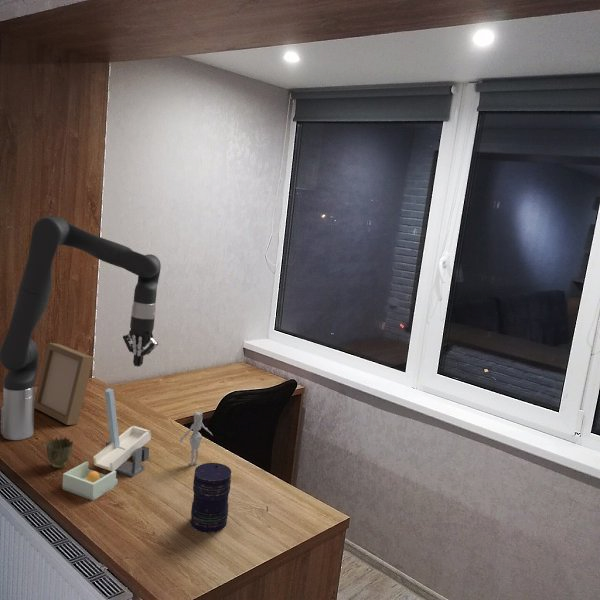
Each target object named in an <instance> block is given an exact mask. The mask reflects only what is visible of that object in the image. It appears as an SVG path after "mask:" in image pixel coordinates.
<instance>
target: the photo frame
mask: <svg viewBox="0 0 600 600" xmlns="http://www.w3.org/2000/svg"><path fill="white" fill-rule="evenodd" d="M93 361H94V357H93V356H91V355H88V354H87V353H84V352H81V351H78V350H75V349H73V348H71V347H68V346H66V345H62V344H60V343H55V342H54V343H53V342H48V344H47V349H46V351H45V356H44V360H43V364H42V368H41V372H40V376H39V379H38V380H39V381H38V385H37V387H36V388H37V389H36V391H35V392H36V393H35V395H34V409H37V410H38V411H40V412H42V413H44V414H45V415H48V417H51V418H53V419H55V420H57V421H59V422H60V423H62V424H64V425H67V426H68V425H69V426H71V425H78V424H79V420H80V416H81V411H82V408H83V403H84V399H85V394H86V393H87V392H86V391H87V387H88V383H89V379H90V375H91V370H92V366H93Z"/></svg>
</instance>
